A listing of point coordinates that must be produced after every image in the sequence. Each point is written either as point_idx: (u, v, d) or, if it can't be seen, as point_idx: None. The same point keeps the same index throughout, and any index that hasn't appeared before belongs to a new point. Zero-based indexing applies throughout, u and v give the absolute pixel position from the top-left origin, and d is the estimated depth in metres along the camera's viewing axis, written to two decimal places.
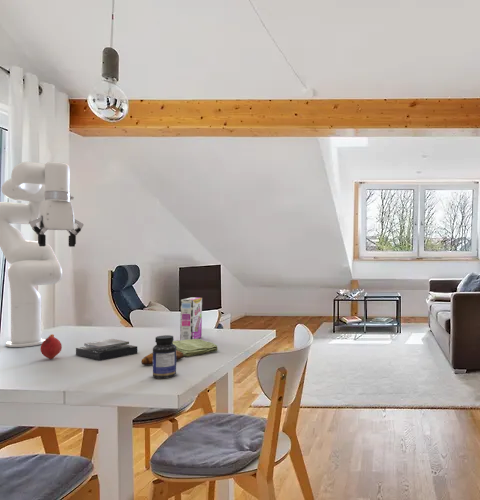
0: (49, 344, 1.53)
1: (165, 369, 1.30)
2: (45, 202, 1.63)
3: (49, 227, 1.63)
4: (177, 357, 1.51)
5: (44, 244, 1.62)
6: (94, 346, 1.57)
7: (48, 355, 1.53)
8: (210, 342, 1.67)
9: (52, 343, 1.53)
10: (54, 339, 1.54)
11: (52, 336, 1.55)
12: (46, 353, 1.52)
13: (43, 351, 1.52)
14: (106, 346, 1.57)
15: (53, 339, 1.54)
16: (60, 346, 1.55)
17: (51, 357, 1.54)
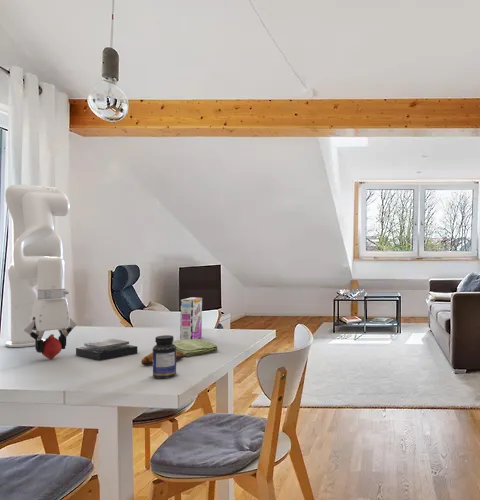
0: (49, 344, 1.53)
1: (165, 369, 1.30)
2: (38, 302, 1.51)
3: (42, 329, 1.51)
4: (177, 357, 1.51)
5: (42, 350, 1.51)
6: (94, 346, 1.57)
7: (48, 355, 1.53)
8: (210, 342, 1.67)
9: (52, 343, 1.53)
10: (54, 339, 1.54)
11: (52, 336, 1.55)
12: (46, 353, 1.52)
13: None
14: (106, 346, 1.57)
15: (53, 339, 1.54)
16: (60, 346, 1.55)
17: (51, 357, 1.54)
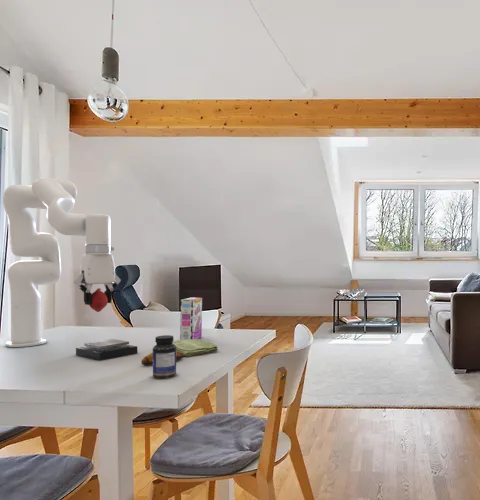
0: (97, 296, 1.59)
1: (165, 369, 1.30)
2: (86, 256, 1.57)
3: (90, 282, 1.57)
4: (177, 357, 1.51)
5: (90, 303, 1.57)
6: (94, 346, 1.57)
7: (96, 307, 1.59)
8: (210, 342, 1.67)
9: (99, 296, 1.59)
10: (101, 292, 1.60)
11: (99, 290, 1.61)
12: (94, 306, 1.58)
13: None
14: (106, 346, 1.57)
15: (100, 292, 1.60)
16: (107, 299, 1.61)
17: (98, 310, 1.60)
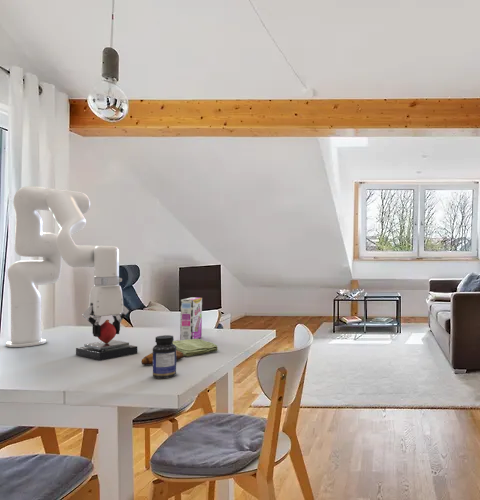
0: (105, 328, 1.60)
1: (165, 369, 1.30)
2: (95, 289, 1.58)
3: (99, 315, 1.58)
4: (177, 357, 1.51)
5: (99, 335, 1.59)
6: (94, 347, 1.57)
7: (104, 339, 1.60)
8: (210, 342, 1.67)
9: (108, 327, 1.60)
10: (109, 324, 1.62)
11: (107, 321, 1.62)
12: (103, 338, 1.60)
13: (100, 335, 1.59)
14: (106, 347, 1.57)
15: (108, 324, 1.61)
16: (115, 331, 1.62)
17: (107, 341, 1.61)
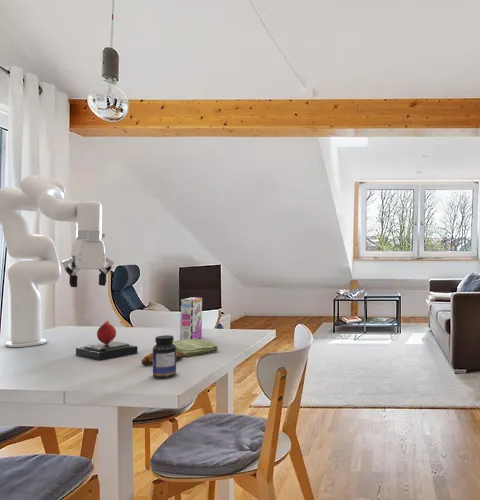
0: (105, 329, 1.60)
1: (165, 369, 1.30)
2: (77, 242, 1.60)
3: (81, 268, 1.61)
4: (177, 357, 1.51)
5: (76, 285, 1.60)
6: (94, 348, 1.57)
7: (104, 340, 1.60)
8: (210, 342, 1.67)
9: (108, 329, 1.60)
10: (109, 325, 1.62)
11: (107, 322, 1.62)
12: (103, 339, 1.60)
13: (100, 337, 1.59)
14: (106, 348, 1.57)
15: (108, 325, 1.61)
16: (115, 332, 1.62)
17: (107, 342, 1.61)
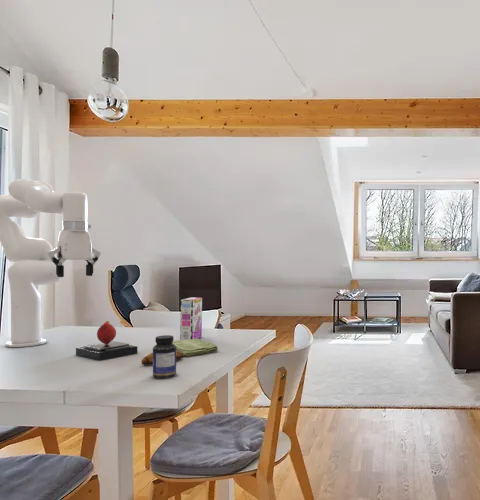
0: (105, 329, 1.60)
1: (165, 369, 1.30)
2: (63, 232, 1.62)
3: (67, 258, 1.62)
4: (177, 357, 1.51)
5: (62, 275, 1.61)
6: (94, 348, 1.57)
7: (104, 340, 1.60)
8: (210, 342, 1.67)
9: (108, 329, 1.60)
10: (109, 325, 1.62)
11: (107, 322, 1.62)
12: (103, 339, 1.60)
13: (100, 337, 1.59)
14: (106, 348, 1.57)
15: (108, 325, 1.61)
16: (115, 332, 1.62)
17: (107, 342, 1.61)
